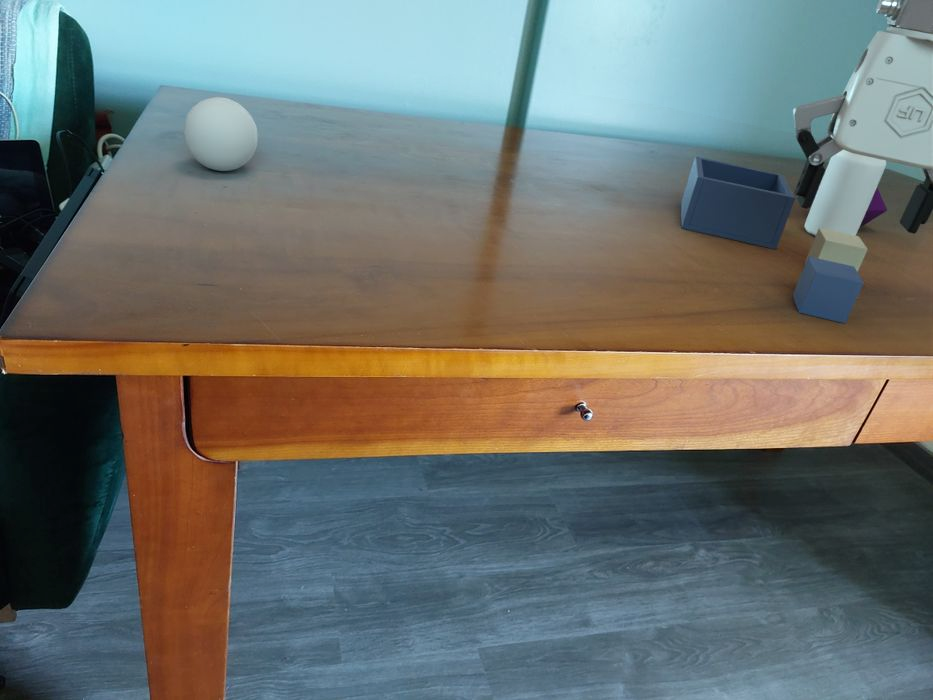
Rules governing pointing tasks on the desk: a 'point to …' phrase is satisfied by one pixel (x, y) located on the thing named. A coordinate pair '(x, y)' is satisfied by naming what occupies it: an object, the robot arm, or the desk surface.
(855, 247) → the cream block
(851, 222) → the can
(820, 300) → the blue block
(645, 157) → the desk surface
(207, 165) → the ball
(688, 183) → the blue bin
